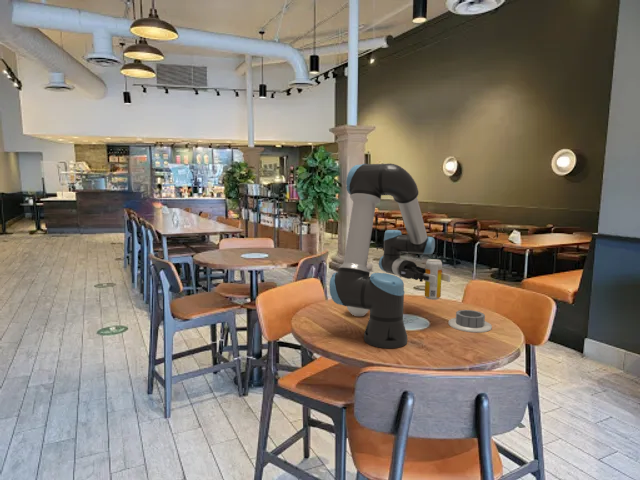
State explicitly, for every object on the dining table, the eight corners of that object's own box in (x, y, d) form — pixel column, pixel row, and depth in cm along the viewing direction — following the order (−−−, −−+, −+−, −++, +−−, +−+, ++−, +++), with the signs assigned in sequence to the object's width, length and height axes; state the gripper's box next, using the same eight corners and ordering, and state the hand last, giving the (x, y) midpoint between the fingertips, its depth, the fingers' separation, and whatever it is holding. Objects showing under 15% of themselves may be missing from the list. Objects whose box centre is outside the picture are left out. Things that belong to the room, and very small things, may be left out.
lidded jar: (372, 318, 175) (372, 296, 174) (346, 317, 175) (346, 295, 174) (369, 310, 185) (370, 289, 184) (345, 310, 186) (345, 289, 184)
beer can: (438, 296, 168) (440, 259, 166) (441, 300, 162) (443, 261, 160) (423, 295, 169) (425, 258, 167) (425, 299, 163) (427, 261, 161)
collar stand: (483, 335, 155) (484, 322, 155) (442, 326, 165) (442, 314, 165) (497, 324, 168) (497, 313, 167) (457, 316, 178) (458, 305, 177)
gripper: (422, 275, 185) (461, 286, 165) (386, 279, 177) (422, 291, 156) (422, 258, 184) (462, 267, 164) (386, 261, 176) (423, 271, 155)
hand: (442, 279), depth 160 cm, fingers closed on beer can, 6 cm apart
